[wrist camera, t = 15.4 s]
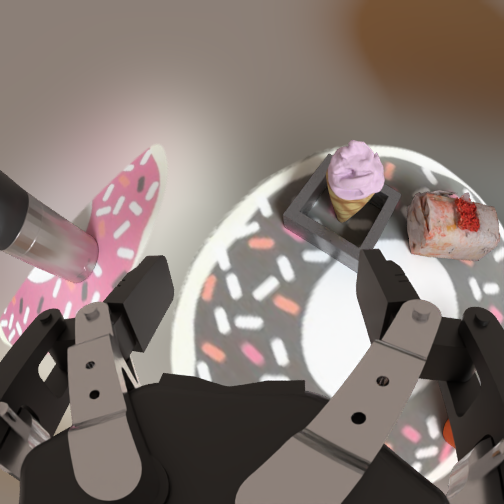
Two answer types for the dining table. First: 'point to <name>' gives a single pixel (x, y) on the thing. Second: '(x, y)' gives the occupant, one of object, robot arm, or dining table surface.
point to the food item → (451, 226)
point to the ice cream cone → (353, 178)
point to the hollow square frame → (327, 238)
